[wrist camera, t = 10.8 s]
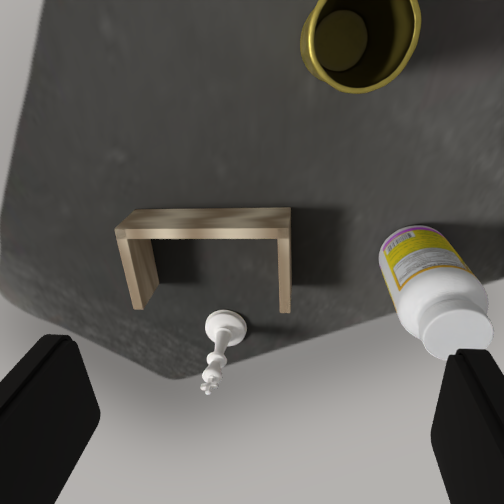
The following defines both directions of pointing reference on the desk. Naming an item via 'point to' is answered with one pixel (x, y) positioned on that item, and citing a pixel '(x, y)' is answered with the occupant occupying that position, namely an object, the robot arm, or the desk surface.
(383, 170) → the desk surface
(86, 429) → the robot arm
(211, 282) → the desk surface
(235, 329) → the chess piece
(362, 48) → the vase
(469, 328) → the supplement bottle
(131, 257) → the open-side wooden frame
